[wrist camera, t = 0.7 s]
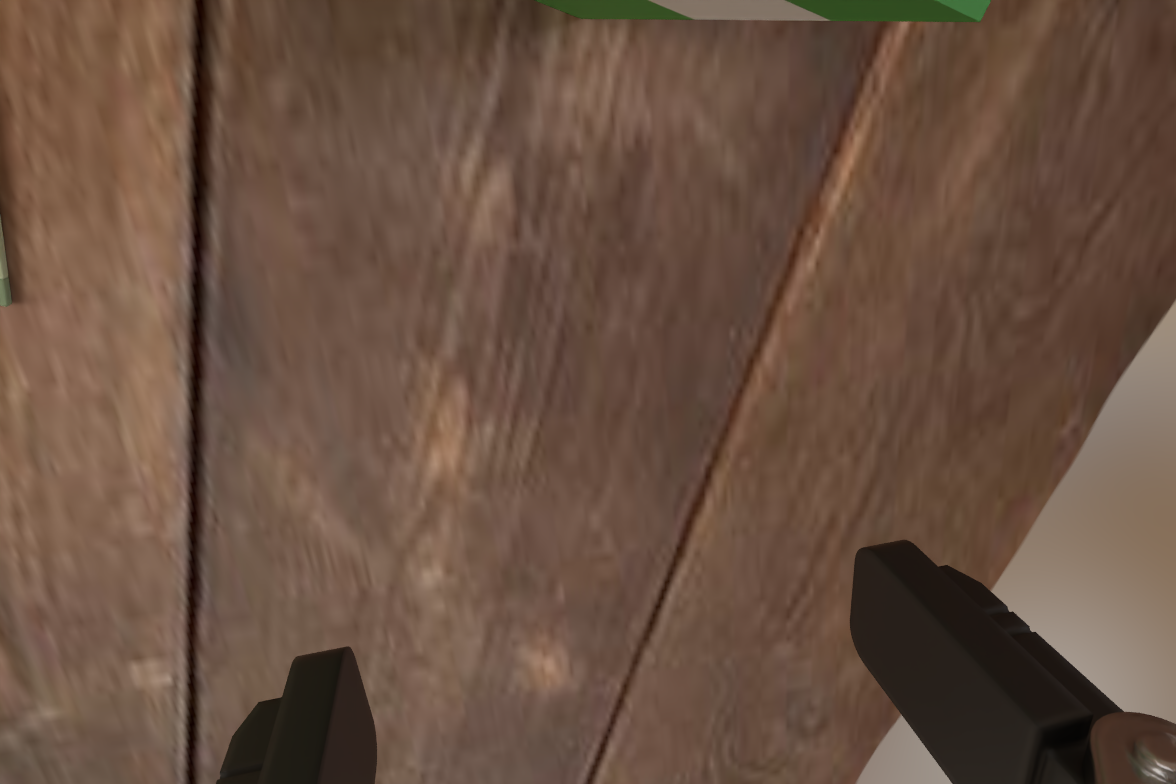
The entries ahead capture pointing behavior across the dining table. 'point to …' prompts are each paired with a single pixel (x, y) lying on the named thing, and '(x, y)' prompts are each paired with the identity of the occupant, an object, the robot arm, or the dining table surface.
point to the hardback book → (777, 9)
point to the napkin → (4, 274)
